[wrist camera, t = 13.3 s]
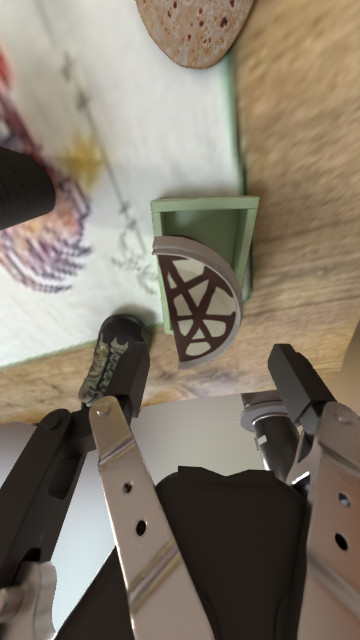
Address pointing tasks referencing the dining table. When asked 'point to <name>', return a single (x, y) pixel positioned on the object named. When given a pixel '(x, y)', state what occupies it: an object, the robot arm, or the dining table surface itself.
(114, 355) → the hiking shoe
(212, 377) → the dining table surface
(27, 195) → the drinking cup
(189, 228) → the holder
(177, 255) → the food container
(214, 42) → the flatbread
